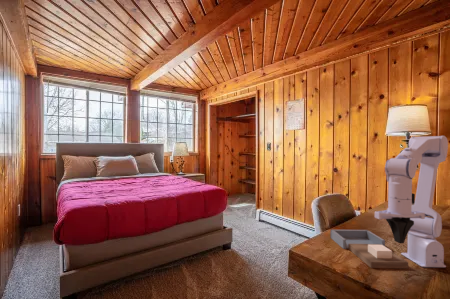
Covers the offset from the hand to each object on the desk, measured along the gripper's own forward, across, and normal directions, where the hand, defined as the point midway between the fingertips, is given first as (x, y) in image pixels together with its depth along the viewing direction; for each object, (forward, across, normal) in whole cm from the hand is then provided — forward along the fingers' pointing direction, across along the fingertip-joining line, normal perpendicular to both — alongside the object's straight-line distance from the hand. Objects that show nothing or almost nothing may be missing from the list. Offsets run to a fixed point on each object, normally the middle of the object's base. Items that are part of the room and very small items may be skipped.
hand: (399, 242), depth 70 cm
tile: (+8, -1, -9) cm, 13 cm away
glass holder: (+11, -49, -52) cm, 72 cm away
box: (+10, -2, -23) cm, 26 cm away
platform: (+10, -1, -11) cm, 15 cm away
